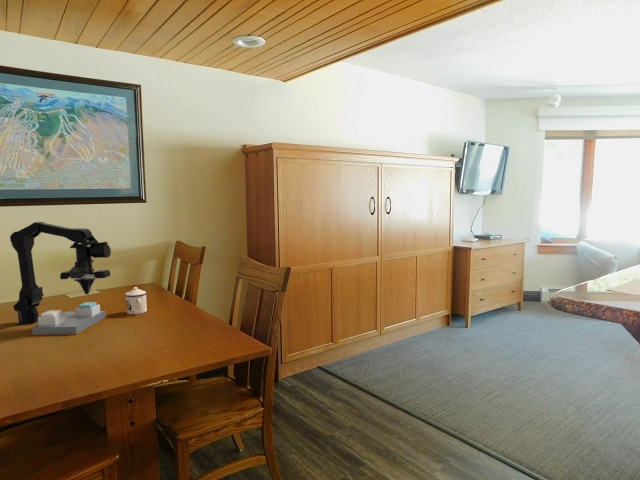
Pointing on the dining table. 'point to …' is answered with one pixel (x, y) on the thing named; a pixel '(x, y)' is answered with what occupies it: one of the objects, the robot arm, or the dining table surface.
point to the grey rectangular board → (69, 321)
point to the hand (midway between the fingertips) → (87, 294)
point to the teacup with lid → (136, 301)
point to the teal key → (87, 305)
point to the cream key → (51, 313)
